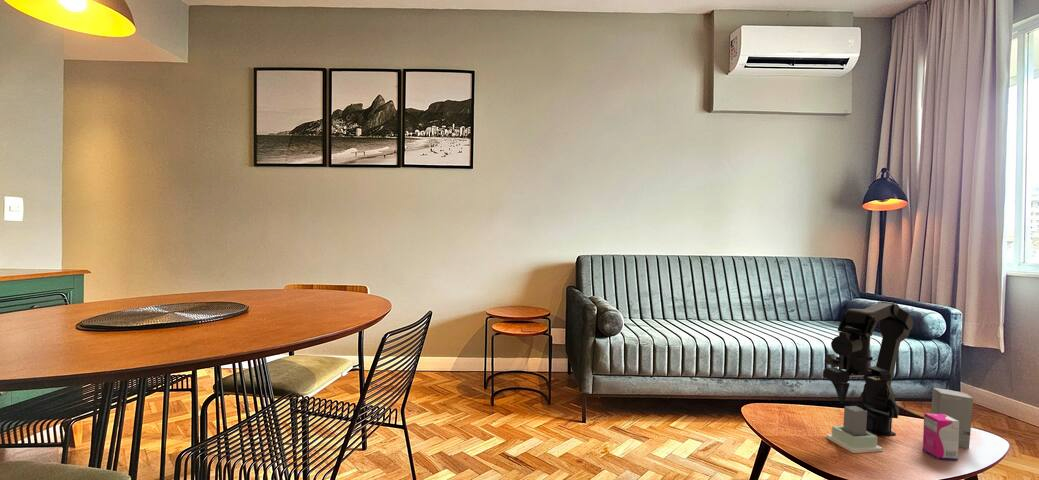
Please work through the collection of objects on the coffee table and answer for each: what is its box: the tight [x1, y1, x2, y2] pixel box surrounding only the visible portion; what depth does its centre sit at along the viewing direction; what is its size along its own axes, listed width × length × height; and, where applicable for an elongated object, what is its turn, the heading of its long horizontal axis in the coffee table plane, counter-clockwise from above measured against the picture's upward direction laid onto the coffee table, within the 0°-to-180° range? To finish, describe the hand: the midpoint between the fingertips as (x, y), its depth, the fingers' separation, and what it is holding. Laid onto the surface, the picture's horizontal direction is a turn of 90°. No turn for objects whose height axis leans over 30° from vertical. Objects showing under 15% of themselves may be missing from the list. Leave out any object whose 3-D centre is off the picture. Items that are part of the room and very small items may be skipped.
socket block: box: [825, 425, 884, 454], centre depth 145 cm, size 10×10×4 cm
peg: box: [842, 405, 867, 436], centre depth 145 cm, size 4×4×10 cm
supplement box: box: [922, 412, 959, 461], centre depth 139 cm, size 6×6×12 cm
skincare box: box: [930, 387, 974, 450], centre depth 148 cm, size 8×7×16 cm
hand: (855, 402), depth 145 cm, fingers open, 9 cm apart
